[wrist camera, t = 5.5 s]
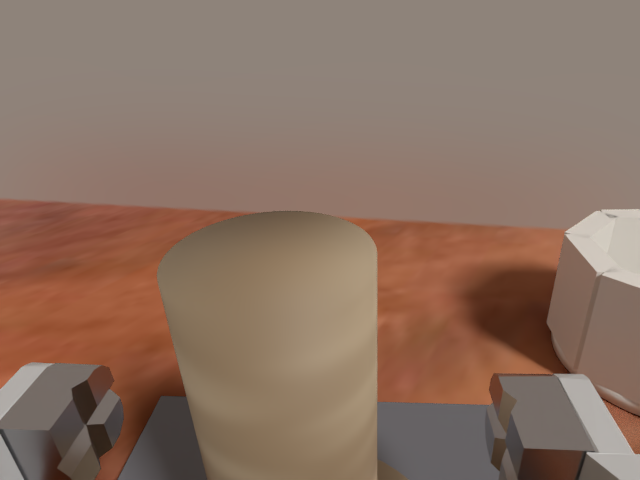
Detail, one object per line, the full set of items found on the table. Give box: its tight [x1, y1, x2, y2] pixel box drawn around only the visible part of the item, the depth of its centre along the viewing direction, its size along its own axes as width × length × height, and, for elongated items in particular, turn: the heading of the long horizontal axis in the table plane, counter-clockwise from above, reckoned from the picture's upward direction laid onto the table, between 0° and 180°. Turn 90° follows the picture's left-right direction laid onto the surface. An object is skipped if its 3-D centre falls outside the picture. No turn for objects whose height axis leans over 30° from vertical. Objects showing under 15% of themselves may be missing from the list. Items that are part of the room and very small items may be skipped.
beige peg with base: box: [157, 211, 409, 480], centre depth 8 cm, size 7×7×9 cm
